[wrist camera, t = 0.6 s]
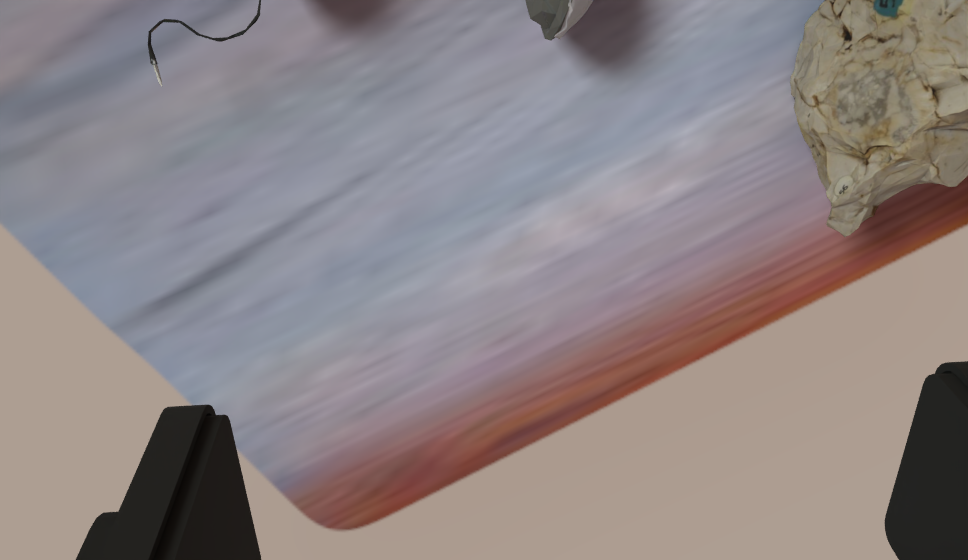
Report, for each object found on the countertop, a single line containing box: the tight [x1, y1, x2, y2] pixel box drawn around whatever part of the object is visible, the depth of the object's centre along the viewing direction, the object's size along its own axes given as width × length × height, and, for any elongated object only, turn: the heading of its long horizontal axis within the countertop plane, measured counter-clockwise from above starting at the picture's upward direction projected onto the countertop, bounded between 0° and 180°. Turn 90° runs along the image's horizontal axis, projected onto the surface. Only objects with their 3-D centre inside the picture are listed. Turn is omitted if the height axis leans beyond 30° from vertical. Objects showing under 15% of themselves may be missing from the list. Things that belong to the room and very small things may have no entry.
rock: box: [790, 0, 968, 237], centre depth 35 cm, size 12×7×10 cm, turn 154°
